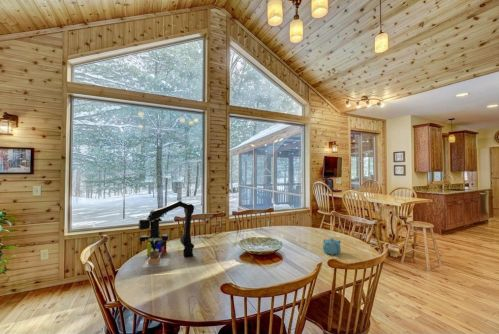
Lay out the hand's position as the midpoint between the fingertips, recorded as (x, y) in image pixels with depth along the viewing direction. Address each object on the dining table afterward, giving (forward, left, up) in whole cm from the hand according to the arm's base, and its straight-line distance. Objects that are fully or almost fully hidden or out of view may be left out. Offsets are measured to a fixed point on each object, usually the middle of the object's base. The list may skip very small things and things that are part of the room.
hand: (154, 250), depth 169 cm
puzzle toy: (+1, -17, -9) cm, 19 cm away
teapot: (-135, +6, -9) cm, 135 cm away
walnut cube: (0, 0, -5) cm, 5 cm away
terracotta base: (0, 0, -8) cm, 8 cm away
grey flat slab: (-2, +2, -9) cm, 9 cm away
